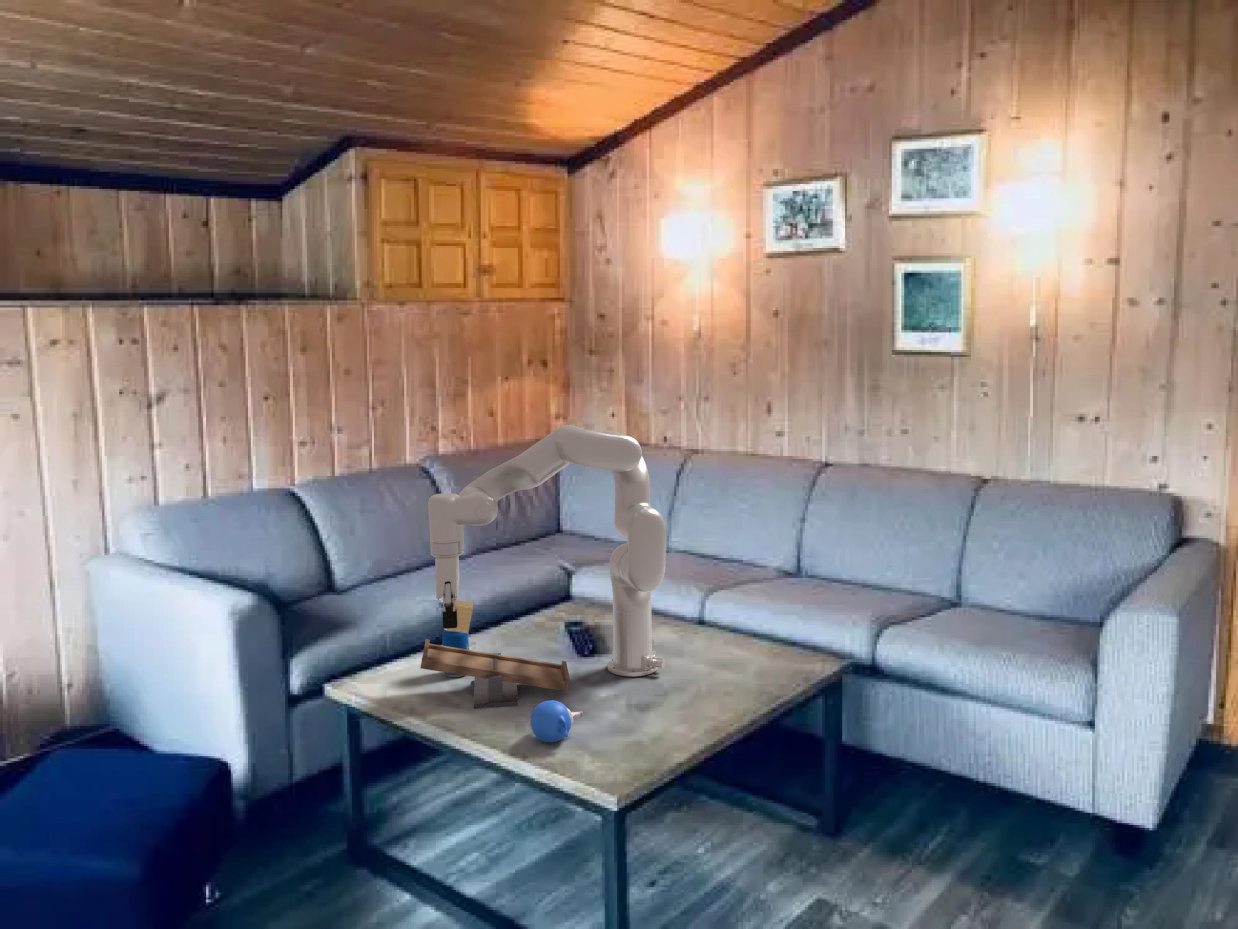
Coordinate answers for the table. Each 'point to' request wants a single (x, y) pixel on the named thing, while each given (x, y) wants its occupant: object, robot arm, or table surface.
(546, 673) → the beam
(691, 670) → the table surface
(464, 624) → the rider
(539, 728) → the blue mole toy
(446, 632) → the beverage can
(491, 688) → the beam stand
